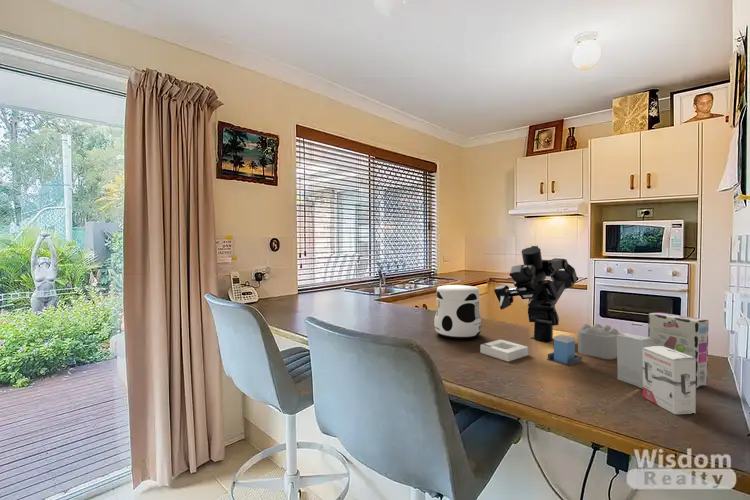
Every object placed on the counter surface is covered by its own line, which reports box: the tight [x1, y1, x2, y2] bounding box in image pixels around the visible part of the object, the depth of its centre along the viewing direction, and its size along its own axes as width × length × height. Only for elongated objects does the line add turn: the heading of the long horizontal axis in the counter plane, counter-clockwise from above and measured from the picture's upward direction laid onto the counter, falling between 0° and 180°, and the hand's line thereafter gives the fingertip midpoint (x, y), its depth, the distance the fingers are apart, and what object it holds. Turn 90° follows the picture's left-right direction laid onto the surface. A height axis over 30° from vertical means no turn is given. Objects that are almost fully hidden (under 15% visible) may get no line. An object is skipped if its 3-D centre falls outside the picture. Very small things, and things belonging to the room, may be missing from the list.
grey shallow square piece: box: [546, 351, 583, 367], centre depth 105 cm, size 7×7×2 cm
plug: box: [553, 334, 576, 364], centre depth 105 cm, size 4×4×7 cm
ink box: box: [642, 346, 697, 415], centre depth 78 cm, size 9×5×12 cm, turn 5°
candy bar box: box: [647, 311, 709, 389], centre depth 92 cm, size 11×5×16 cm, turn 22°
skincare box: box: [616, 332, 651, 390], centre depth 89 cm, size 6×4×12 cm
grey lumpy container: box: [577, 323, 621, 360], centre depth 113 cm, size 10×13×9 cm
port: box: [479, 338, 529, 362], centre depth 112 cm, size 10×10×3 cm
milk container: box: [433, 284, 483, 340], centre depth 134 cm, size 17×17×18 cm
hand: (514, 307), depth 109 cm, fingers open, 9 cm apart
